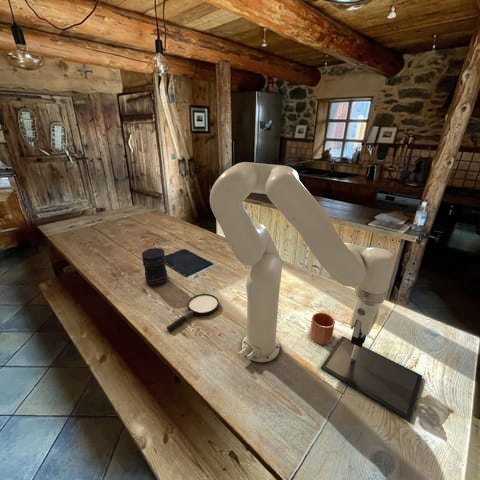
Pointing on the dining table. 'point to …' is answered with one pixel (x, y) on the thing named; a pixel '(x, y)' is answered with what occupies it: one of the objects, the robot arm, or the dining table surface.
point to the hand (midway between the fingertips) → (357, 342)
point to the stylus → (355, 352)
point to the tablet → (375, 377)
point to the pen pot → (322, 328)
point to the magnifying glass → (197, 308)
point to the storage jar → (154, 267)
